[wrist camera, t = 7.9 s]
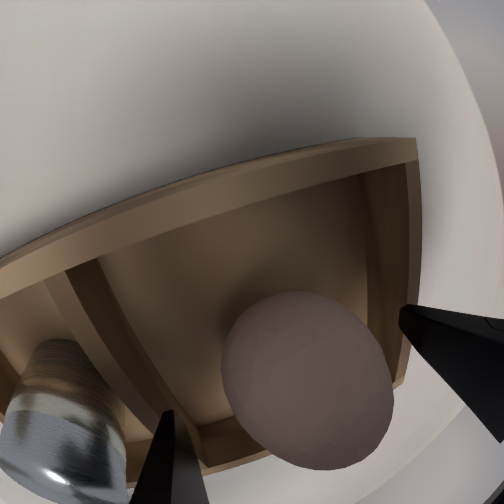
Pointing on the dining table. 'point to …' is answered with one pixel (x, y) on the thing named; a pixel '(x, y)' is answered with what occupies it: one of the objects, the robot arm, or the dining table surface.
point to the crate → (217, 279)
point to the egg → (307, 380)
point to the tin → (65, 429)
